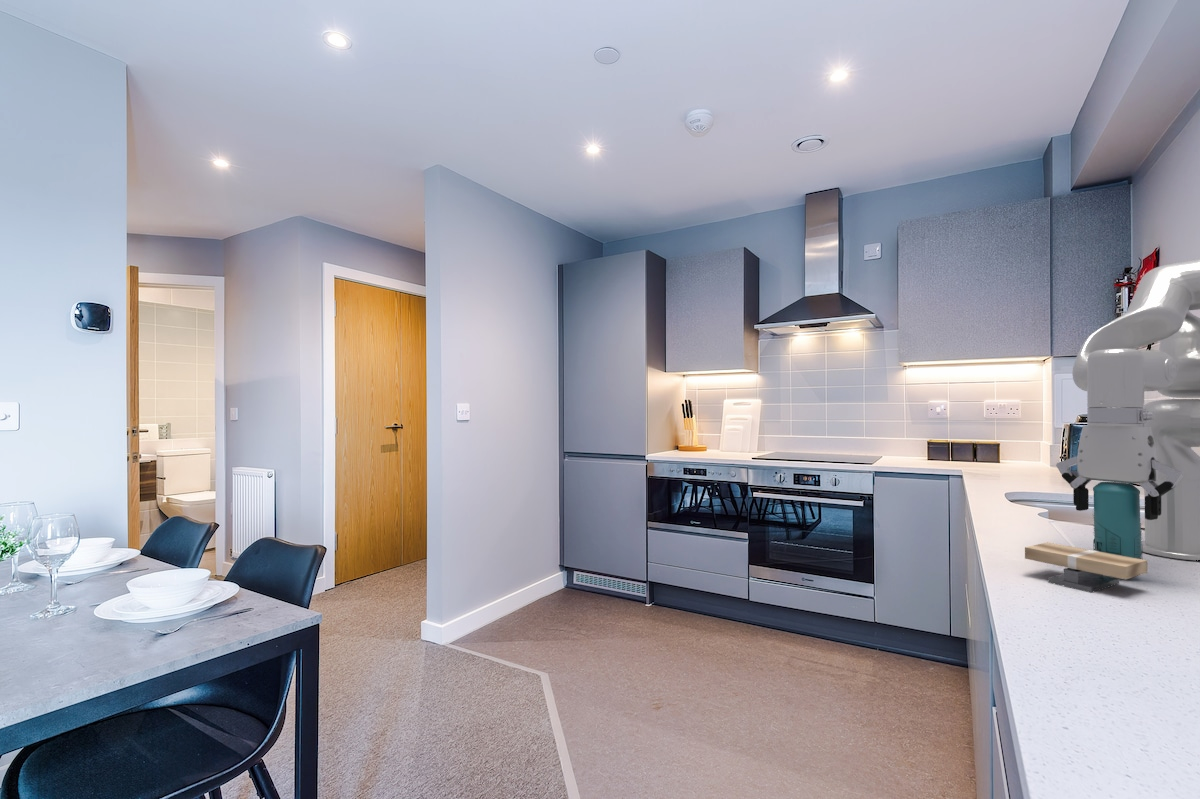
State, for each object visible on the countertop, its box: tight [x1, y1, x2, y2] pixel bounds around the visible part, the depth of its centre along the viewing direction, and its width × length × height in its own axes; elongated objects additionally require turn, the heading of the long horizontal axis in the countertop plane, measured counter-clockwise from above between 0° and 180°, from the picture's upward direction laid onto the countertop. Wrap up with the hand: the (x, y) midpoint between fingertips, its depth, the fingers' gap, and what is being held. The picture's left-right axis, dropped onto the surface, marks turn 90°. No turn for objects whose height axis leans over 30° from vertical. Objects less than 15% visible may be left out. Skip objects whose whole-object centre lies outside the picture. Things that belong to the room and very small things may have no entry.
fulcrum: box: [1048, 567, 1120, 593], centre depth 97 cm, size 10×6×3 cm, turn 118°
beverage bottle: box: [1092, 481, 1144, 559], centre depth 101 cm, size 6×7×20 cm
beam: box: [1024, 541, 1148, 580], centre depth 97 cm, size 8×14×2 cm, turn 28°
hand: (1115, 514), depth 101 cm, fingers open, 9 cm apart
